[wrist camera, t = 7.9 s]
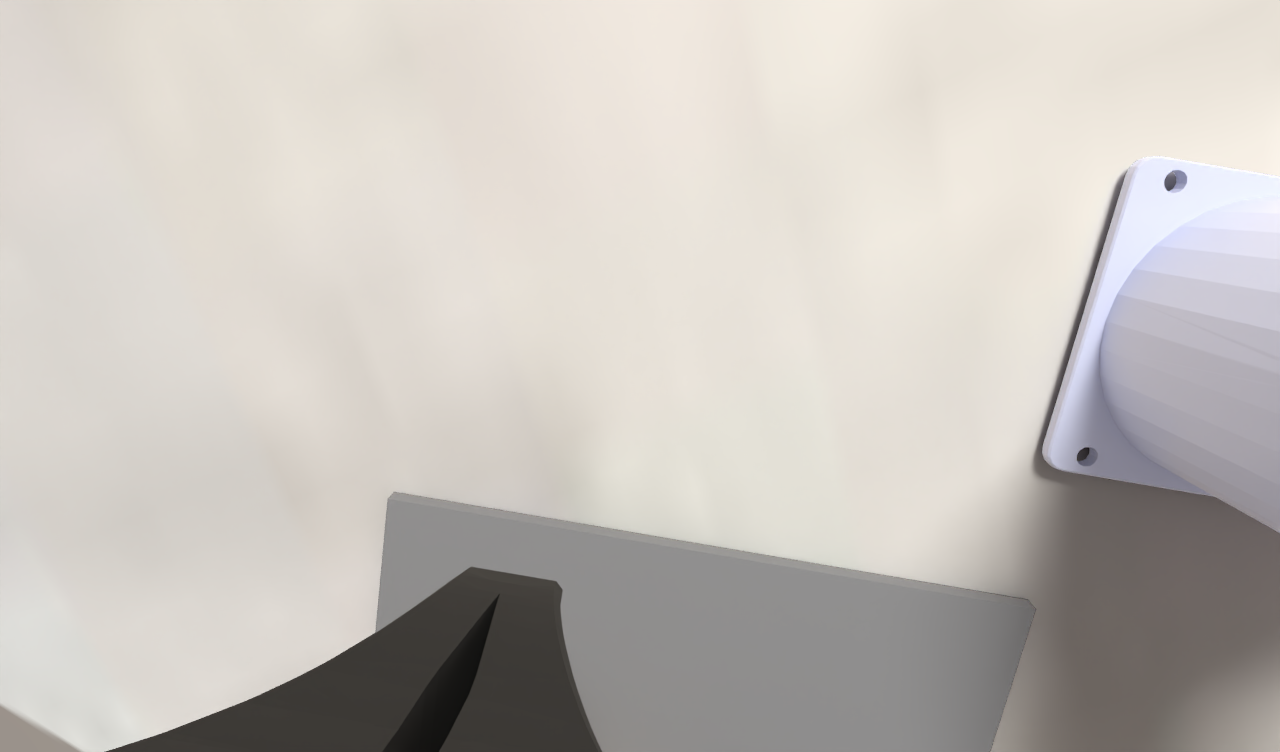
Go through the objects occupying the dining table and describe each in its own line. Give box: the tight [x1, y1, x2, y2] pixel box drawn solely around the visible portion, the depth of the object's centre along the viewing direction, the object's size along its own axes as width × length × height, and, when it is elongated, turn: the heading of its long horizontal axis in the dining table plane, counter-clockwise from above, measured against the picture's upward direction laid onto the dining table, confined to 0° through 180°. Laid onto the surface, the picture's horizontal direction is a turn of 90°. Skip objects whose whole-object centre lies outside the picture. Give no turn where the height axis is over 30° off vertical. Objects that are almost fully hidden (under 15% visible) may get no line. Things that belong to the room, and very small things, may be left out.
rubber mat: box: [375, 492, 1036, 752], centre depth 23 cm, size 18×12×1 cm, turn 81°
